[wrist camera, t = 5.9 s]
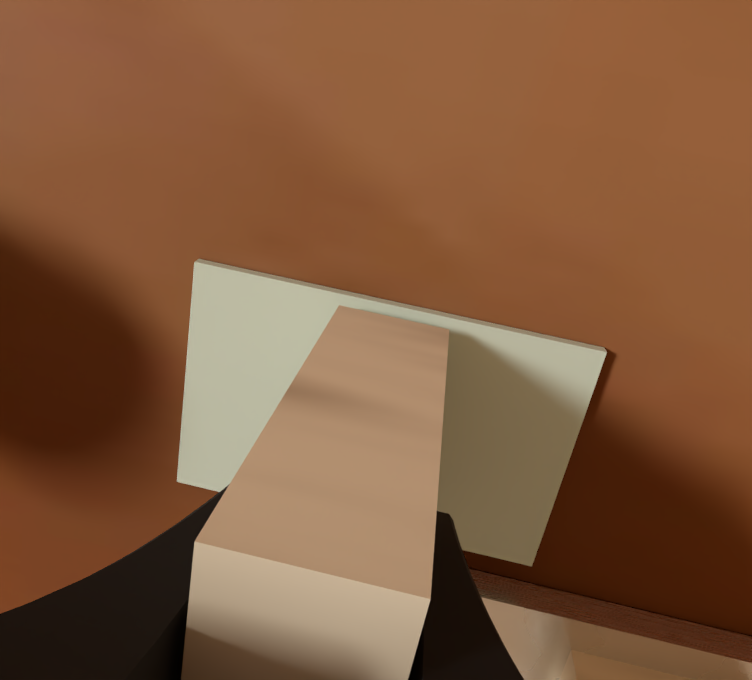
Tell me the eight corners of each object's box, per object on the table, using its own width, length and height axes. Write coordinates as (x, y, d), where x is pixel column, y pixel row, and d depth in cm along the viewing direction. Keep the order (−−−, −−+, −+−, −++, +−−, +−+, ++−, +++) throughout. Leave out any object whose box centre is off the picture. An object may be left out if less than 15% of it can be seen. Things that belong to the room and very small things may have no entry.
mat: (530, 559, 18) (531, 566, 17) (181, 475, 18) (176, 481, 18) (604, 347, 15) (606, 352, 15) (199, 258, 16) (194, 261, 15)
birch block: (398, 537, 17) (338, 924, 9) (302, 515, 17) (162, 876, 9) (449, 329, 15) (430, 599, 7) (338, 304, 15) (194, 541, 7)
